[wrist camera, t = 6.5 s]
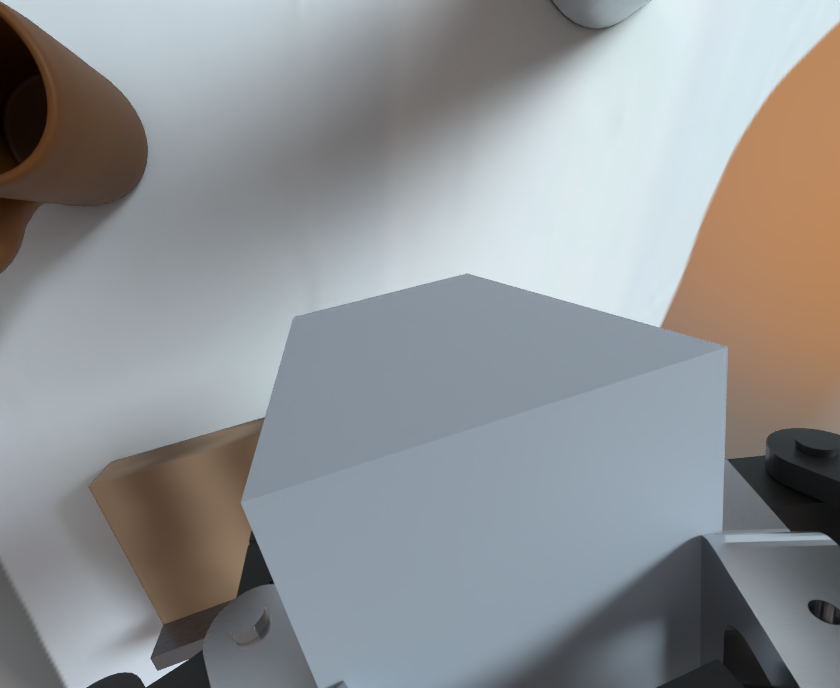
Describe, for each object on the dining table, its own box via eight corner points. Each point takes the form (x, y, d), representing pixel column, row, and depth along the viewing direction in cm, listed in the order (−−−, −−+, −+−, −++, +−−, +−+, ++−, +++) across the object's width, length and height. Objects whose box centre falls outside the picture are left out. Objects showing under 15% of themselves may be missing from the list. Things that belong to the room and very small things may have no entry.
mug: (121, 293, 26) (22, 324, 17) (-27, 252, 24) (-229, 262, 15) (166, 102, 24) (81, 26, 15) (10, 36, 22) (-197, -98, 13)
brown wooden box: (386, 382, 32) (400, 410, 27) (422, 522, 36) (439, 570, 31) (111, 461, 29) (65, 512, 23) (185, 607, 33) (161, 677, 28)
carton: (476, 270, 12) (749, 339, 4) (513, 495, 14) (729, 787, 7) (282, 319, 11) (203, 515, 3) (357, 551, 13) (408, 961, 6)
